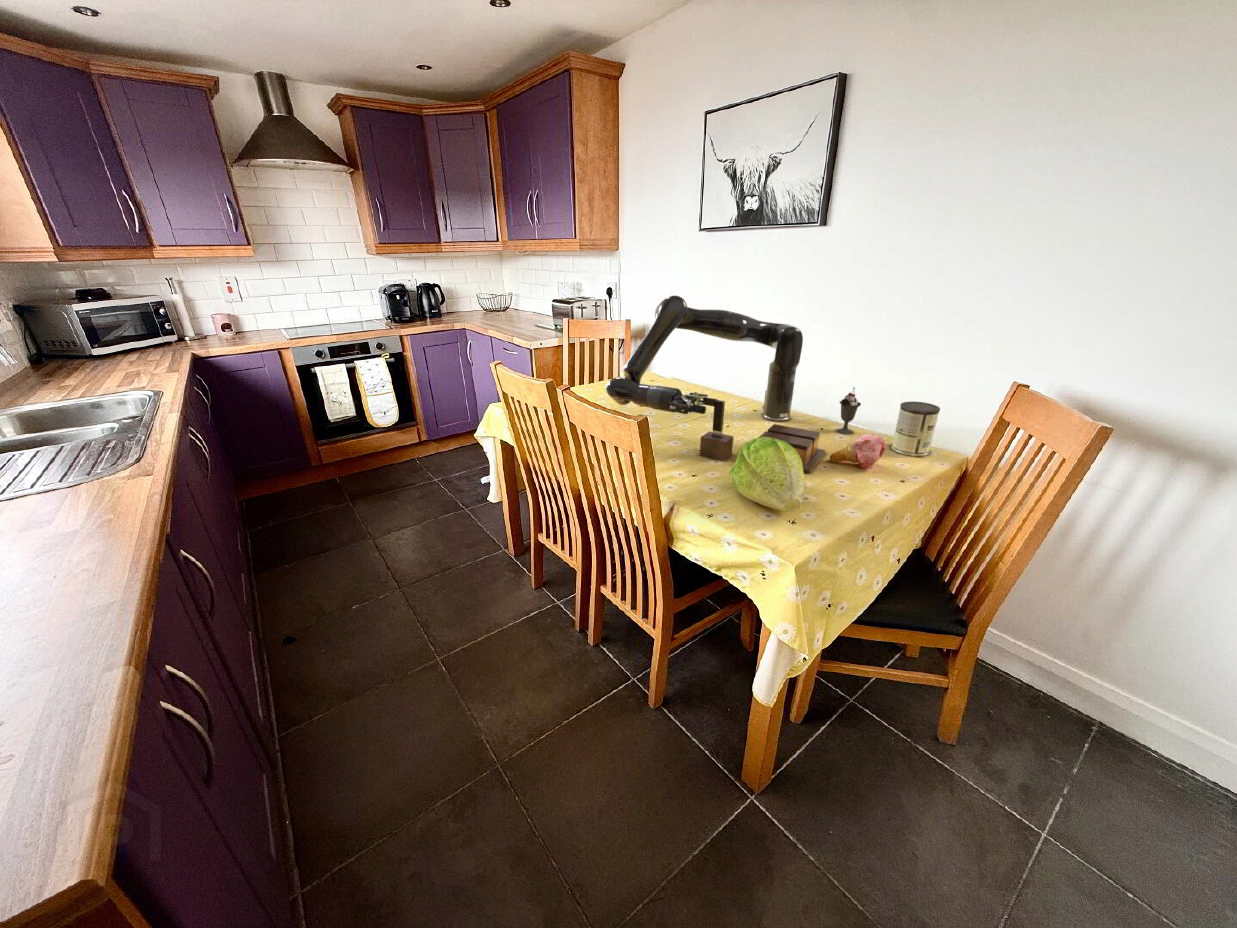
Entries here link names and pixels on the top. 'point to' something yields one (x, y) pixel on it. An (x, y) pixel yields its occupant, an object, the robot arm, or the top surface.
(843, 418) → the sundae
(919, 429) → the coffee can
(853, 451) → the ice cream
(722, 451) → the knife block
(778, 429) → the slotted wooden block
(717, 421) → the knife
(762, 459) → the lettuce
